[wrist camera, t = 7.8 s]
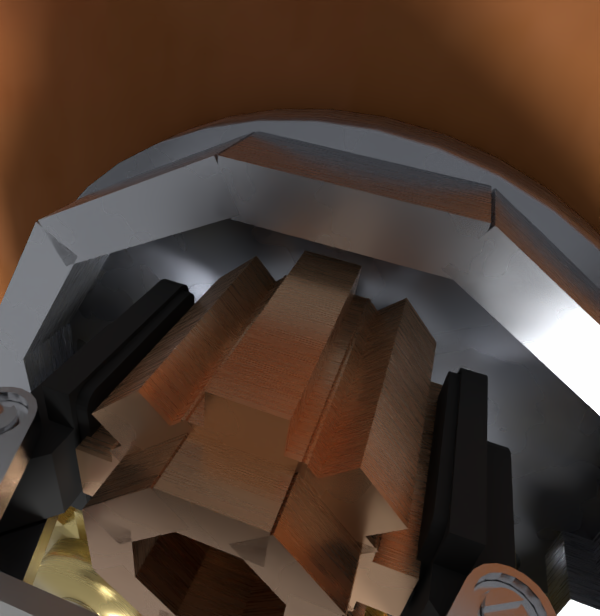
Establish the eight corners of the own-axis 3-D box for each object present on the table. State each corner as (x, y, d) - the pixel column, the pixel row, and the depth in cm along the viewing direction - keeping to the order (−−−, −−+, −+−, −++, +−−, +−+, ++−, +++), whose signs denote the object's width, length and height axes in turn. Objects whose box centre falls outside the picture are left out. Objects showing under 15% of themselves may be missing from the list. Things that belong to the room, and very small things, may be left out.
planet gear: (477, 297, 10) (465, 555, 5) (402, 484, 13) (356, 741, 9) (202, 222, 11) (1, 386, 6) (197, 413, 14) (61, 608, 10)
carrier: (899, 229, 10) (1505, 591, 4) (511, 666, 21) (518, 925, 15) (16, 36, 13) (-352, 74, 8) (91, 496, 25) (-33, 653, 19)
